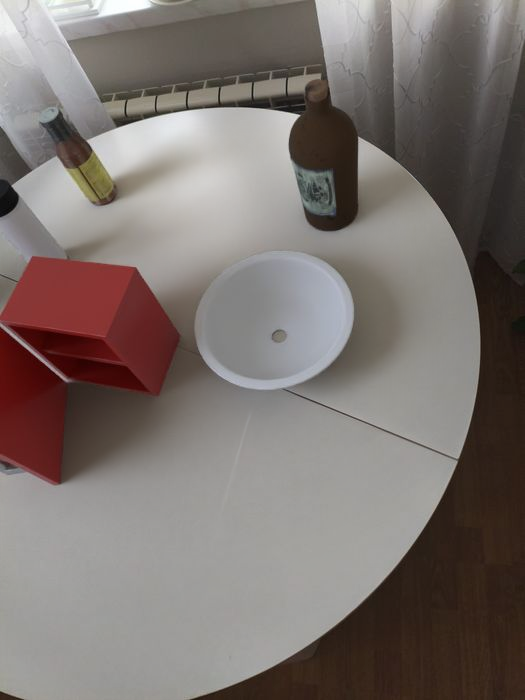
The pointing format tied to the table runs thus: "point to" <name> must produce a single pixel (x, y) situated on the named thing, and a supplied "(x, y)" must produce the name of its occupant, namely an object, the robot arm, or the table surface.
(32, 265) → the cabinet
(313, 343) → the white sink basin
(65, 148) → the sauce bottle
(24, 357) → the red cabinet door
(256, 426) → the table surface
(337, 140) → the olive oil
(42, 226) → the travel mug
